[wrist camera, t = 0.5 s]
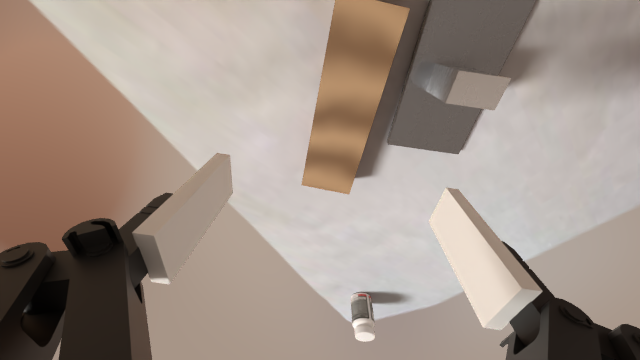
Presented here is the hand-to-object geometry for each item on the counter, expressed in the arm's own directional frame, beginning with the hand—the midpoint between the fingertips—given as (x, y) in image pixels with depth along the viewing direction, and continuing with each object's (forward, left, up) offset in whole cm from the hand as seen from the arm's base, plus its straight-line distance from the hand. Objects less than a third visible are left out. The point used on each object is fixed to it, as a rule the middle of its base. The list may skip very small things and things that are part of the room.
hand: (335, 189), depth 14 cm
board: (0, +1, -20) cm, 20 cm away
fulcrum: (-5, +13, -20) cm, 24 cm away
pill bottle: (+43, +13, -20) cm, 49 cm away
